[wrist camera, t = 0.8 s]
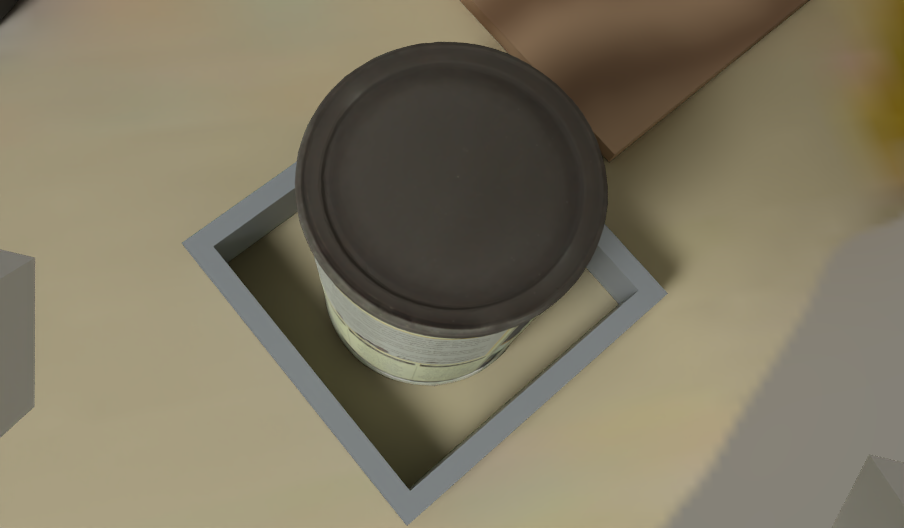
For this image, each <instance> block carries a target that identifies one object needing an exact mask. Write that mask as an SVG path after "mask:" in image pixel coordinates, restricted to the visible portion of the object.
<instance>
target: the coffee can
mask: <svg viewBox="0 0 904 528" xmlns="http://www.w3.org/2000/svg"><path fill="white" fill-rule="evenodd" d="M295 195H296V205H297V211H298V216H299V221H300V224H301V227H302V230H303V233H304V235H305V238H306V241H307V243H308V245H309V247H310V249H311V251H312V253H313V255H314V258H315V261H316V265H317V268H318V272H319V276H320V280H321V283H322V286H323V289H324V293H325V300H326V305H327V309H328V313H329V316H330V319H331V321H332V324H333V326H334V328H335V330H336V332H337V334H338V335H339V337H340V338H341V340H342V341H343V343H344V344H345V346H346V347H347V348H348V349H349V350H350V351H351V353H352V354H353V355H354V356H355V357H356V358H357V359H358V360H360V361H361V362H362V363H363V364H365V365H366V366H368V367H369V368H371V369H372V370H374V371H376V372H377V373H379V374H381V375H384V376H386V377H388V378H391V379H393V380H396V381H400V382H404V383H409V384H416V385H432V386H435V385H441V384H446V383H453V382H456V381H459V380H462V379H465V378H468V377H470V376H472V375H474V374H476V373H478V372H480V371H481V370H483V369H484V368H486V367H487V366H489V365H490V364H491V363H493V362H494V361H495V360H496V359H497V358H498V357H499V356H500V355H501V354H502V353H504V351H505V350H506V348H507V347H508V346H509V344H510V343H511V342H512V341H513V340H514V339H515V338H516V337H517V336H518V335H519V334H520V333H521V332H522V331H523V330H524V329H525V328H526V327H527V326H528V325H529V324H530V322H531V321H532V320H533V319H534V318H535V317H536V316H538V315H539V314H541V313H542V312H544V311H545V310H547V309H548V308H549V307H550V306H552V305H553V304H554V303H555V302H557V301H558V300H559V299H560V298H561V297H562V296H563V295H564V294H565V293H566V292H567V291H568V290H569V289H570V288H571V287H572V286H573V285H574V284H575V283H576V281H577V280H578V279H579V277H580V276H581V275H582V273H583V272H584V270H585V268H586V267H587V265H588V264H589V262H590V261H591V259H592V257H593V255H594V253H595V250H596V248H597V246H598V243H599V240H600V237H601V235H602V232H603V229H604V224H605V219H606V212H607V205H608V186H607V177H606V171H605V165H604V161H603V157H602V154H601V151H600V148H599V145H598V142H597V139H596V137H595V135H594V133H593V131H592V128H591V126H590V125H589V123H588V121H587V120H586V118H585V116H584V115H583V113H582V112H581V110H580V109H579V107H578V106H577V105H576V104H575V103H574V101H573V100H572V99H571V98H570V97H569V96H568V95H567V94H566V93H565V92H564V91H563V90H562V89H561V88H560V87H559V86H558V85H557V84H556V83H555V82H553V81H552V80H551V79H550V78H548V77H547V76H546V75H544V74H543V73H542V72H540V71H539V70H537V69H536V68H534V67H532V66H531V65H530V64H528V63H526V62H524V61H522V60H520V59H519V58H516V57H514V56H512V55H510V54H508V53H505V52H501V51H499V50H496V49H493V48H489V47H485V46H480V45H475V44H468V43H457V42H434V43H422V44H416V45H411V46H407V47H403V48H400V49H396V50H393V51H390V52H387V53H385V54H382V55H380V56H378V57H376V58H374V59H372V60H370V61H368V62H367V63H365V64H363V65H362V66H360V67H359V68H357V69H355V70H354V71H353V72H351V73H350V74H348V75H347V76H345V77H344V78H343V79H342V80H341V81H340V82H339V83H338V84H337V85H336V86H335V87H334V88H333V89H332V90H331V91H330V92H329V93H328V95H327V96H326V97H325V98H324V100H323V101H322V102H321V104H320V105H319V107H318V108H317V110H316V112H315V113H314V115H313V117H312V118H311V120H310V122H309V124H308V126H307V128H306V131H305V133H304V136H303V138H302V141H301V145H300V148H299V152H298V157H297V163H296V172H295Z"/></svg>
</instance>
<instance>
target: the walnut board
mask: <svg viewBox="0 0 904 528" xmlns="http://www.w3.org/2000/svg"><path fill="white" fill-rule="evenodd" d="M460 1H461V2H462V3H463V4H464V5H465V7H466V8H467V9H468V10H469V11H470V12H471V13H472V14H473V15H474V16H475V17H476V18H477V20H478V21H479V22H480V23H481V24H482V25H483V26H484V27H485V28H486V29H487V30H488V31H489V33H490V34H491V35H492V36H493V37H494V38H495V39H496V40H497V41H498V42H499V43H500V44H501V46H502V47H503V48H504V49H505V50H506V51H507V52H508V53H509V54H510V55H512V56H514V57H516V58H519V59H520V60H522V61H524V62H526V63H528V64H530V65H531V66H532V67H534V68H536V69H537V70H539V71H540V72H542V73H543V74H544V75H546V76H547V77H548V78H550V79H551V80H552V81H553V82H555V83H556V84H557V85H558V86H559V87H560V88H561V89H562V90H563V91H564V92H565V93H566V94H567V95H568V96H569V97H570V98H571V99H572V100H573V101H574V103H575V104H576V105H577V106H578V107H579V109H580V110H581V112H582V113H583V115H584V116H585V118H586V120H587V121H588V123H589V125H590V126H591V128H592V131H593V133H594V135H595V137H596V139H597V142H598V145H599V148H600V151H601V154H602V155H603V156H604V157H605V158H606V159H607V160H608V162H610V161H611V160H612V159H614V158H615V157H616V156H617V155H619V154H620V153H621V152H622V151H624V150H625V149H626V148H627V147H629V146H630V145H631V144H632V143H633V142H635V141H636V140H637V139H638V138H640V137H641V136H642V135H643V134H645V133H646V132H647V131H648V130H650V129H651V128H652V127H653V126H655V125H656V124H657V123H658V122H659V121H661V120H662V119H663V118H664V117H666V116H667V115H668V114H669V113H671V112H672V111H673V110H674V109H676V108H677V107H678V106H679V105H680V104H682V103H683V102H684V101H685V100H687V99H688V98H689V97H690V96H692V95H693V94H694V93H695V92H697V91H698V90H699V89H700V88H702V87H703V86H704V85H705V84H706V83H708V82H709V81H710V80H711V79H713V78H714V77H715V76H716V75H718V74H719V73H720V72H721V71H723V70H724V69H725V68H726V67H728V66H729V65H730V64H731V63H732V62H734V61H735V60H736V59H737V58H739V57H740V56H741V55H742V54H744V53H745V52H746V51H747V50H749V49H750V48H751V47H752V46H754V45H755V44H756V43H757V42H758V41H760V40H761V39H762V38H763V37H765V36H766V35H767V34H768V33H770V32H771V31H772V30H773V29H775V28H776V27H777V26H778V25H780V24H781V23H782V22H783V21H784V20H786V19H787V18H788V17H789V16H791V15H792V14H793V13H794V12H796V11H797V10H798V9H799V8H801V7H802V6H803V5H804V4H806V3H807V2H808V1H809V0H460Z"/></svg>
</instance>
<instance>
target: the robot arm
mask: <svg viewBox="0 0 904 528" xmlns="http://www.w3.org/2000/svg"><path fill="white" fill-rule="evenodd" d="M17 1H18V0H0V20H1V19H2V18H3V17H4V16H5V15H6V14H7V13H8V12H9V11H10V9H11V8H12V7H13V6H14V5H15V4H16V2H17ZM34 384H35V258H34V257H30V256H26V255H22V254H17V253H13V252H9V251H5V250H0V437H2V436H3V435H4V434H5V433H6V432H7V431H8V430H9V429H10V428H11V427H13V426H14V425H15V424H16V423H17V422H18V421H19V420H20V419H21V418H22V417H24V416H25V415H26V414H27V413H28V412H29V411H30V410H31V409H32V408H33V407H34ZM832 528H904V463H903V462H899V461H895V460H891V459H886V458H882V457H878V456H873V455H869V456H868V458H867V459H866V461H865V463H864V465H863V467H862V469H861V471H860V473H859V475H858V477H857V479H856V481H855V483H854V485H853V487H852V489H851V491H850V493H849V495H848V497H847V498H846V501H845V502H844V504H843V506H842V508H841V510H840V512H839V514H838V516H837V518H836V520H835V522H834V524H833V526H832Z"/></svg>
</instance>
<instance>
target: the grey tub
mask: <svg viewBox="0 0 904 528" xmlns="http://www.w3.org/2000/svg"><path fill="white" fill-rule="evenodd" d="M296 163H297V162H295V163H294V164H293V165H291V166H290V167H288V168H287V169H286V170H284V171H283V172H281V173H280V174H278V175H277V176H276V177H274V178H273V179H271V180H270V181H269V182H267V183H266V184H264V185H263V186H262V187H260V188H259V189H257V190H256V191H254V192H253V193H252V194H250V195H249V196H247V197H246V198H245V199H243V200H242V201H240V202H239V203H237V204H236V205H235V206H233V207H232V208H230V209H229V210H228V211H226V212H225V213H223V214H222V215H221V216H219V217H218V218H216V219H215V220H213V221H212V222H211V223H209V224H208V225H206V226H205V227H204V228H202V229H201V230H199V231H198V232H197V233H195V234H194V235H192V236H191V237H189V238H188V239H187V240H185V241H184V242H182V244H183V246H184V247H185V248H186V249H187V251H188V252H189V253H190V254H191V256H192V257H193V258H194V259H195V261H196V262H197V263H198V264H199V266H200V267H201V268H202V269H203V271H204V272H205V273H206V274H207V276H208V277H209V278H210V279H211V281H212V282H213V283H214V284H215V286H216V287H217V288H218V289H219V291H220V292H221V293H222V294H223V296H224V297H225V298H226V299H227V301H228V302H229V303H230V304H231V306H232V307H233V308H234V310H235V311H236V312H237V313H238V315H239V316H240V317H241V318H242V320H243V321H244V322H245V323H246V325H247V326H248V327H249V328H250V330H251V331H252V332H253V333H254V335H255V336H256V337H257V338H258V340H259V341H260V342H261V343H262V345H263V346H264V347H265V348H266V350H267V351H268V352H269V353H270V355H271V356H272V357H273V358H274V360H275V361H276V362H277V363H278V365H279V366H280V367H281V368H282V370H283V371H284V372H285V373H286V375H287V376H288V377H289V378H290V380H291V381H292V382H293V384H294V385H295V386H296V387H297V389H298V390H299V391H300V392H301V394H302V395H303V396H304V397H305V399H306V400H307V401H308V402H309V404H310V405H311V406H312V407H313V409H314V410H315V411H316V412H317V414H318V415H319V416H320V417H321V419H322V420H323V421H324V422H325V424H326V425H327V426H328V427H329V429H330V430H331V431H332V432H333V434H334V435H335V436H336V437H337V439H338V440H339V441H340V442H341V444H342V445H343V446H344V447H345V449H346V450H347V451H348V453H349V454H350V455H351V456H352V458H353V459H354V460H355V461H356V463H357V464H358V465H359V466H360V468H361V469H362V470H363V471H364V473H365V474H366V475H367V476H368V478H369V479H370V480H371V481H372V483H373V484H374V485H375V486H376V488H377V489H378V490H379V491H380V493H381V494H382V495H383V496H384V498H385V499H386V500H387V501H388V503H389V504H390V505H391V506H392V508H393V509H394V510H395V511H396V513H397V514H398V515H399V516H400V518H401V519H402V520H403V521H404V523H405V524H406V525H408V524H410V523H411V522H412V521H413V520H414V519H415V518H416V517H417V516H418V515H420V514H421V513H422V512H423V511H424V510H425V509H426V508H427V507H429V506H430V505H431V504H432V503H433V502H434V501H435V500H436V499H438V498H439V497H440V496H441V495H442V494H443V493H444V492H445V491H447V490H448V489H449V488H450V487H451V486H452V485H453V484H454V483H456V482H457V481H458V480H459V479H460V478H461V477H462V476H463V475H465V474H466V473H467V472H468V471H469V470H470V469H471V468H472V467H473V466H475V465H476V464H477V463H478V462H479V461H480V460H481V459H482V458H484V457H485V456H486V455H487V454H488V453H489V452H490V451H491V450H493V449H494V448H495V447H496V446H497V445H498V444H499V443H500V442H502V441H503V440H504V439H505V438H506V437H507V436H508V435H509V434H511V433H512V432H513V431H514V430H515V429H516V428H517V427H518V426H519V425H521V424H522V423H523V422H524V421H525V420H526V419H527V418H528V417H530V416H531V415H532V414H533V413H534V412H535V411H536V410H537V409H539V408H540V407H541V406H542V405H543V404H544V403H545V402H546V401H548V400H549V399H550V398H551V397H552V396H553V395H554V394H555V393H557V392H558V391H559V390H560V389H561V388H562V387H563V386H564V385H566V384H567V383H568V382H569V381H570V380H571V379H572V378H573V377H574V376H576V375H577V374H578V373H579V372H580V371H581V370H582V369H583V368H585V367H586V366H587V365H588V364H589V363H590V362H591V361H592V360H594V359H595V358H596V357H597V356H598V355H599V354H600V353H601V352H603V351H604V350H605V349H606V348H607V347H608V346H609V345H610V344H612V343H613V342H614V341H615V340H616V339H617V338H618V337H619V336H620V335H622V334H623V333H624V332H625V331H626V330H627V329H628V328H629V327H631V326H632V325H633V324H634V323H635V322H636V321H637V320H638V319H640V318H641V317H642V316H643V315H644V314H645V313H646V312H647V311H649V310H650V309H651V308H652V307H653V306H654V305H655V304H656V303H658V302H659V301H660V300H661V299H662V298H663V297H664V296H665V295H666V294H668V293H667V292H666V291H665V290H664V289H663V288H662V287H661V286H660V284H659V283H658V282H657V281H656V280H655V279H654V278H653V277H652V276H651V274H650V273H649V272H648V271H647V270H646V269H645V268H644V267H643V266H642V265H641V263H640V262H639V261H638V260H637V259H636V258H635V257H634V256H633V255H632V254H631V252H630V251H629V250H628V249H627V248H626V247H625V246H624V245H623V244H622V243H621V241H620V240H619V239H618V238H617V237H616V236H615V235H614V234H613V233H612V231H611V230H610V229H609V228H608V227H607V226H606V225H605V224H604V229H603V232H602V235H601V237H600V240H599V243H598V246H597V248H596V250H595V253H594V255H593V257H592V259H591V261H590V262H589V264H588V265H587V267H586V268H587V269H588V270H589V271H590V272H591V273H592V274H593V276H594V277H595V278H596V279H597V280H598V281H599V282H600V283H601V285H602V286H603V287H604V288H605V289H606V290H607V291H608V292H609V294H610V295H611V296H612V297H613V298H614V299H615V300H616V301H617V302H618V304H619V305H618V306H617V307H616V308H614V309H613V310H612V311H611V312H610V313H609V314H608V315H606V316H605V317H604V318H603V319H602V320H601V321H600V322H598V323H597V324H596V325H595V326H594V327H593V328H592V329H590V330H589V331H588V332H587V333H586V334H585V335H584V336H582V337H581V338H580V339H579V340H578V341H577V342H576V343H575V344H573V345H572V346H571V347H570V348H569V349H568V350H567V351H565V352H564V353H563V354H562V355H561V356H560V357H559V358H557V359H556V360H555V361H554V362H553V363H552V364H551V365H549V366H548V367H547V368H546V369H545V370H544V371H543V372H541V373H540V374H539V375H538V376H537V377H536V378H535V379H533V380H532V381H531V382H530V383H529V384H528V385H527V386H525V387H524V388H523V389H522V390H521V391H520V392H519V393H517V394H516V395H515V396H514V397H513V398H512V399H511V400H509V401H508V402H507V403H506V404H505V405H504V406H503V407H501V408H500V409H499V410H498V411H497V412H496V413H495V414H493V415H492V416H491V417H490V418H489V419H488V420H487V421H486V422H484V423H483V424H482V425H481V426H480V427H479V428H478V429H476V430H475V431H474V432H473V433H472V434H471V435H470V436H468V437H467V438H466V439H465V440H464V441H463V442H462V443H460V444H459V445H458V446H457V447H456V448H455V449H454V450H452V451H451V452H450V453H449V454H448V455H447V456H446V457H444V458H443V459H442V460H441V461H440V462H439V463H438V464H436V465H435V466H434V467H433V468H432V469H431V470H430V471H428V472H427V473H426V474H425V475H424V476H423V477H422V478H420V479H419V480H418V481H417V482H416V483H415V484H414V485H412V486H411V487H410V488H409V489H408V488H407V487H406V485H405V484H404V483H403V482H402V480H401V479H400V478H399V477H398V475H397V474H396V473H395V472H394V470H393V469H392V468H391V467H390V465H389V464H388V463H387V462H386V460H385V459H384V458H383V457H382V455H381V454H380V453H379V452H378V451H377V449H376V448H375V447H374V446H373V444H372V443H371V442H370V441H369V439H368V438H367V437H366V436H365V434H364V433H363V432H362V431H361V429H360V428H359V427H358V426H357V424H356V423H355V422H354V421H353V419H352V418H351V417H350V416H349V414H348V413H347V412H346V411H345V409H344V408H343V407H342V406H341V405H340V403H339V402H338V401H337V400H336V398H335V397H334V396H333V395H332V393H331V392H330V391H329V390H328V388H327V387H326V386H325V385H324V383H323V382H322V381H321V380H320V378H319V377H318V376H317V375H316V373H315V372H314V371H313V370H312V368H311V367H310V366H309V365H308V363H307V362H306V361H305V360H304V359H303V357H302V356H301V355H300V354H299V352H298V351H297V350H296V349H295V347H294V346H293V345H292V344H291V342H290V341H289V340H288V339H287V337H286V336H285V335H284V334H283V332H282V331H281V330H280V329H279V327H278V326H277V325H276V324H275V322H274V321H273V320H272V319H271V318H270V316H269V315H268V314H267V313H266V311H265V310H264V309H263V308H262V306H261V305H260V304H259V303H258V301H257V300H256V299H255V298H254V296H253V295H252V294H251V293H250V291H249V290H248V289H247V288H246V286H245V285H244V284H243V283H242V281H241V280H240V279H239V278H238V276H237V275H236V274H235V273H234V272H233V270H232V269H231V268H230V267H229V265H228V264H227V263H228V262H229V261H230V260H232V259H233V258H234V257H236V256H237V255H239V254H240V253H241V252H243V251H244V250H245V249H247V248H248V247H250V246H251V245H252V244H254V243H255V242H256V241H258V240H259V239H261V238H262V237H263V236H265V235H266V234H267V233H269V232H270V231H272V230H273V229H274V228H276V227H277V226H278V225H280V224H281V223H283V222H284V221H285V220H287V219H288V218H289V217H291V216H292V215H294V214H295V213H296V212H298V211H297V205H296V195H295V172H296Z"/></svg>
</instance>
